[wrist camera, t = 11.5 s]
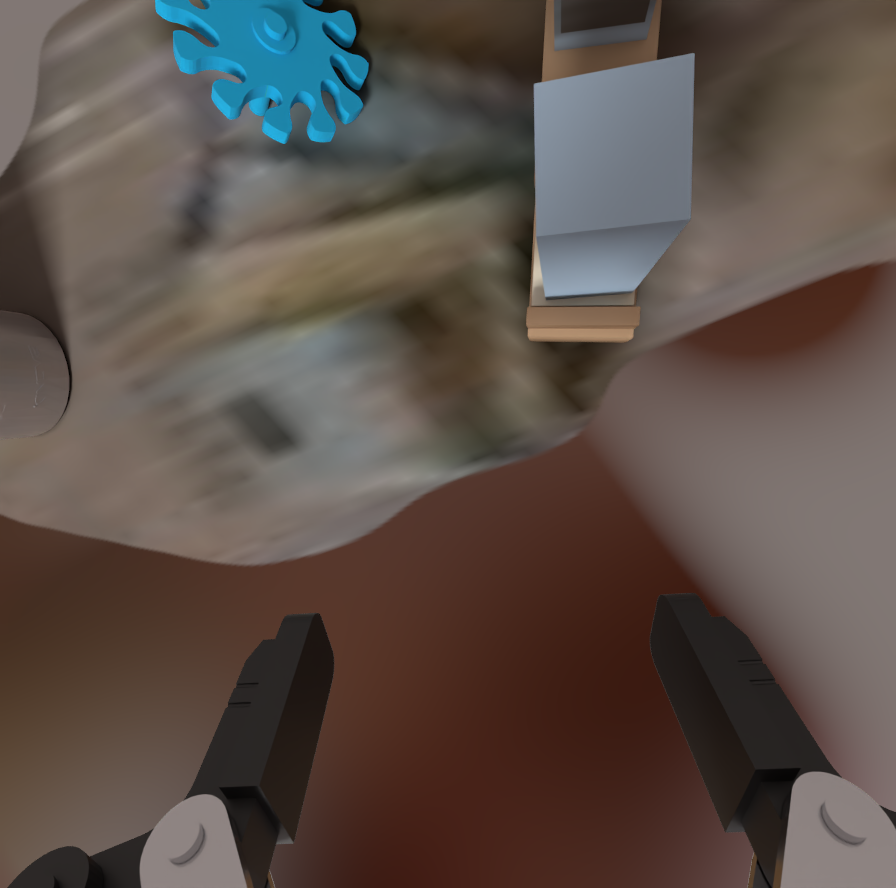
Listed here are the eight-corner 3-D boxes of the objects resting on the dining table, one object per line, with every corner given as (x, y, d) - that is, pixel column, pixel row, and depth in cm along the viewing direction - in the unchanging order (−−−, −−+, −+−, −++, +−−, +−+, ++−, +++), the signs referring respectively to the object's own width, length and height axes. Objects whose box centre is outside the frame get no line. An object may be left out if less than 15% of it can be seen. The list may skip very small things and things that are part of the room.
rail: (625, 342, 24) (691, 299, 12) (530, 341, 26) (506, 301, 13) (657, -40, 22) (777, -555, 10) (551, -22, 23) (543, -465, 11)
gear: (378, 152, 25) (158, 85, 19) (343, 208, 30) (162, 165, 25) (366, -45, 25) (148, -163, 20) (334, 43, 30) (153, -33, 25)
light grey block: (545, 300, 23) (536, 236, 13) (544, 208, 22) (533, 71, 12) (631, 293, 22) (690, 219, 12) (632, 197, 21) (694, 39, 12)
